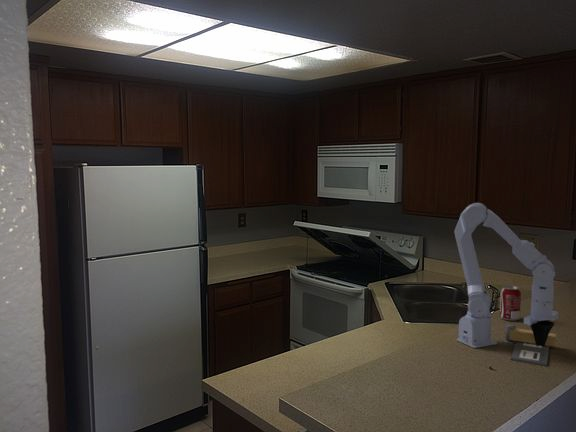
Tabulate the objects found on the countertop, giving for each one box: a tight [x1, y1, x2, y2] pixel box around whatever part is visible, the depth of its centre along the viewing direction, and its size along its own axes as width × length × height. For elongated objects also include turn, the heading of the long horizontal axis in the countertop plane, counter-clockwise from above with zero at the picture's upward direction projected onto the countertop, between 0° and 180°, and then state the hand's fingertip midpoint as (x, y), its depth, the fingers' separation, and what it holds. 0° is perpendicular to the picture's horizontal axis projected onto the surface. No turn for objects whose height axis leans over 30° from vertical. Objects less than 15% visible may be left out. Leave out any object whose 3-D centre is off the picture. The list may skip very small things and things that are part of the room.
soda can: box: [499, 285, 522, 322], centre depth 176 cm, size 7×7×12 cm
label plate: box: [502, 338, 551, 367], centre depth 144 cm, size 22×13×1 cm, turn 149°
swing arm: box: [504, 324, 557, 347], centre depth 149 cm, size 14×3×4 cm, turn 59°
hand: (540, 344), depth 143 cm, fingers closed
